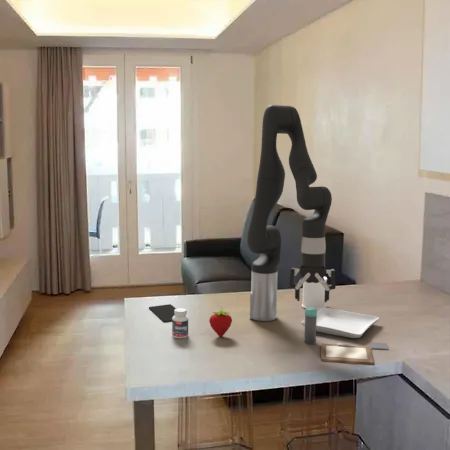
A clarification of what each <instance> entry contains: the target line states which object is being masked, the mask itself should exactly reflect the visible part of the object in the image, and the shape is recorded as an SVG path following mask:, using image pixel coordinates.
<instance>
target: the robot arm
mask: <svg viewBox="0 0 450 450" xmlns="http://www.w3.org/2000/svg"><path fill="white" fill-rule="evenodd" d="M261 128H262V130H261V149H260V156H259V157H260V158H259V164H258V165H259V166H258V171H257V172H258V173H257V176H256V177H257V178H256V188H255V195H254V203H253V208H252V214H251V219H250V221H249V222H250V223H249V226H248V231H247V236H246V237H247V238H246V239H247V240H246V241H247V242H246V243H247V247H248V249H249V250H250V252H251V253H252V254H260V255H259V256H258V258H257V259H255V260H254V261H252V264H251V272H250V273H251V274H250V275H251V281H250V286H251V287H250V294H249V297H250V298H249V320H255V321H259V322H271V321H274V320H275V319H277V313H278V312H277V306H278V303H277V302H278V299H277V298H278V267H279V265H280V262H281V252H282V251H281V250H282V236H281V232H280V230H279V228H278V227H276V226H275V225H268V221H269V219H270V216H271V212H272V211H273V210H274V208H275V207H276V205H277V203H278V202H279V200H280V199H281V196H282V194H283V192H284V187H285V178H286V171H285V167H284V165H283V162H282V160H281V158H280V156H279V153H278V150H277V138H278V134H282V135H284V134H286V135H288V137H289V139H290V142H291V147H290V151H289V155H288V166H289V169H290V172H291V173H292V174H291V175H292V176H293V179H294V181H295V188H296V189H295V190H296V191H295V192H296V202H297V204H298V206H299V207H300V208H301V209H302V210H304V211H313V213H312V214H311V215H309V216H308V217H305V218H303V220H302V228H301V229H302V230H301V231H302V236H301V242H300V243H301V244H300V268H295V267H291V269H290V273H289V274H290V275H289V288H291V289H294V298H295V300H296V301H298V302H300V299H301V298H300V295H301V294H300V291H301V290H300V289H301V287H303V284H304V282H305V281H306V282H307V283H312V282H313V283H318V282H320V283H321V284H322V286H323V287H324V288H325V302H326V303H327V302H328V301H329V300H330V292H331V290H335V289H336V271H335V268H331V269H326V250H327V247H326V246H327V245H326V244H327V243H326V222H327V220H328V216H329V213H330V210H331V206H332V202H333V201H332V200H333V199H332V197H333V196H332V193H331V191H330V189H329V188H328V187H326V186H322V185H321V186H310V185H313V184H314V183H316V181H317V178H318V174H317V171H316V169H315V167H314V166H315V165H314V164H313V162H312V159H311V157H310V153H309V152H308V148H307V143H306V140H305V133H304V130H303V125H302V120H301V117H300V113H299V112H298V110H297V109H296V108H295V107H294V106H291V105H280V104H269V105H268V106H267V107H266V108H265V110H264V112H263V117H262V127H261ZM298 274H299V275H300V276H301V278H300V279H299V280H298V282H297V283H296V282H295V276H297V275H298ZM327 274H328V277H330V281H331V283H330V284H328V282H327V281H325V279H324V278H323V277H324V276H325V277H326V275H327Z"/></svg>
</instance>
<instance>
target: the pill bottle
mask: <svg viewBox="0 0 450 450" xmlns="http://www.w3.org/2000/svg"><path fill="white" fill-rule="evenodd" d="M187 313H188V311H187V309H186V308H183V307H179V308H176V309H175V310H174V314H175V315H174V316H173V318H172V322H171V332H172V334H171V336H172V337H173V338H175V339H186V338H188V336H189V316H188V315H187Z"/></svg>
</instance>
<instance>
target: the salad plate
mask: <svg viewBox="0 0 450 450" xmlns="http://www.w3.org/2000/svg"><path fill="white" fill-rule="evenodd" d="M379 319H380V317H378V316H374V315H369V314H365V313H364V314H363V313H358V312H353V311H349V310H348V311H346V310H342V309H335V308H331V307H330V308H329V307H326V308H321V309H320V310H317V321H316V332H318V333H323V334H327V335H332V334H333V335H334V336H337V335H338V337H342V338H348V339H349V338H350V339H359V338H361V337H362V336H363V335H364V334H365V332H366V331H368V329H370V328H371V327H372V326H373V325H375V324H376V323H377V322H379ZM300 323H301V325H302V326H303V327H305V319H303V320H301V322H300ZM333 335H332V336H333Z"/></svg>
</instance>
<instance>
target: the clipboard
mask: <svg viewBox="0 0 450 450" xmlns="http://www.w3.org/2000/svg"><path fill="white" fill-rule="evenodd" d="M320 361H321V362H332V363H334V362H336V363H346V364H349V363H350V364H361V365H362V364H363V365H374V359H373V354H372V348H371V345H369V346H367V345H354V343H342V342H337V343H323V342H322V343H321V344H320Z"/></svg>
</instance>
